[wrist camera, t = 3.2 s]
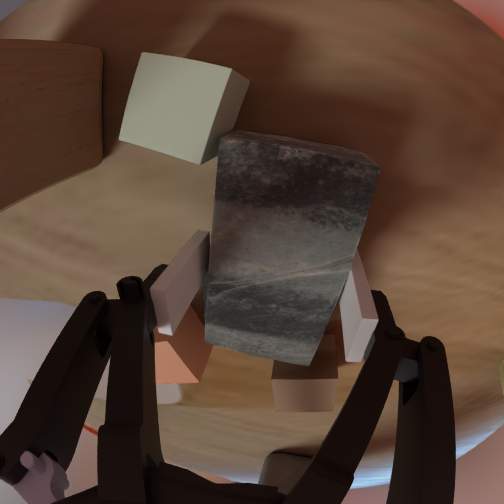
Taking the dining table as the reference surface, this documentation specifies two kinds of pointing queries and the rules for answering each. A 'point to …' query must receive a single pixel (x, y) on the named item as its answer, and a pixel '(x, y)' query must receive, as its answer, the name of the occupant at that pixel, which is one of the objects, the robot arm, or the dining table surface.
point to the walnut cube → (307, 381)
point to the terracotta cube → (182, 351)
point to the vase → (283, 470)
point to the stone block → (282, 241)
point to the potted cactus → (502, 375)
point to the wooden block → (47, 115)
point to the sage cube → (182, 106)
